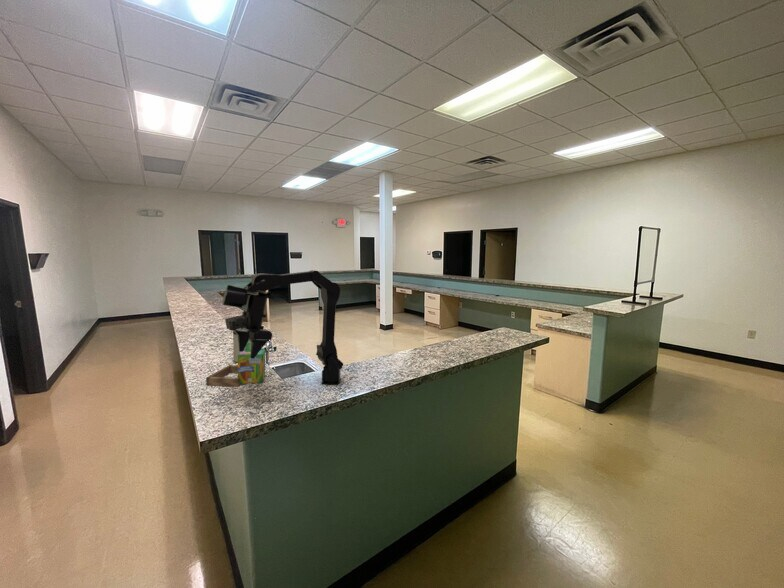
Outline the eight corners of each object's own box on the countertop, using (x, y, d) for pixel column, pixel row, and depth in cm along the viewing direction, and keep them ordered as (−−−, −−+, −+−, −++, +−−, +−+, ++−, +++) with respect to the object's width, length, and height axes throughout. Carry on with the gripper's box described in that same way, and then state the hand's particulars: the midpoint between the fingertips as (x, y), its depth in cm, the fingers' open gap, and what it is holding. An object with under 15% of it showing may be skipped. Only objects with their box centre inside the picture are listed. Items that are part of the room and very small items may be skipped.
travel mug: (244, 363, 145) (244, 325, 144) (229, 362, 147) (229, 323, 145) (255, 358, 153) (255, 322, 151) (241, 357, 154) (240, 321, 153)
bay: (257, 373, 133) (257, 366, 133) (238, 387, 118) (238, 379, 117) (229, 371, 133) (229, 365, 133) (206, 385, 118) (206, 377, 118)
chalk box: (237, 385, 119) (236, 346, 118) (241, 376, 128) (241, 341, 127) (263, 383, 122) (263, 345, 121) (265, 375, 131) (265, 340, 130)
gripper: (220, 302, 108) (211, 347, 108) (243, 311, 95) (232, 362, 95) (252, 306, 116) (244, 348, 116) (277, 315, 104) (267, 362, 103)
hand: (246, 354), depth 107 cm, fingers open, 9 cm apart
